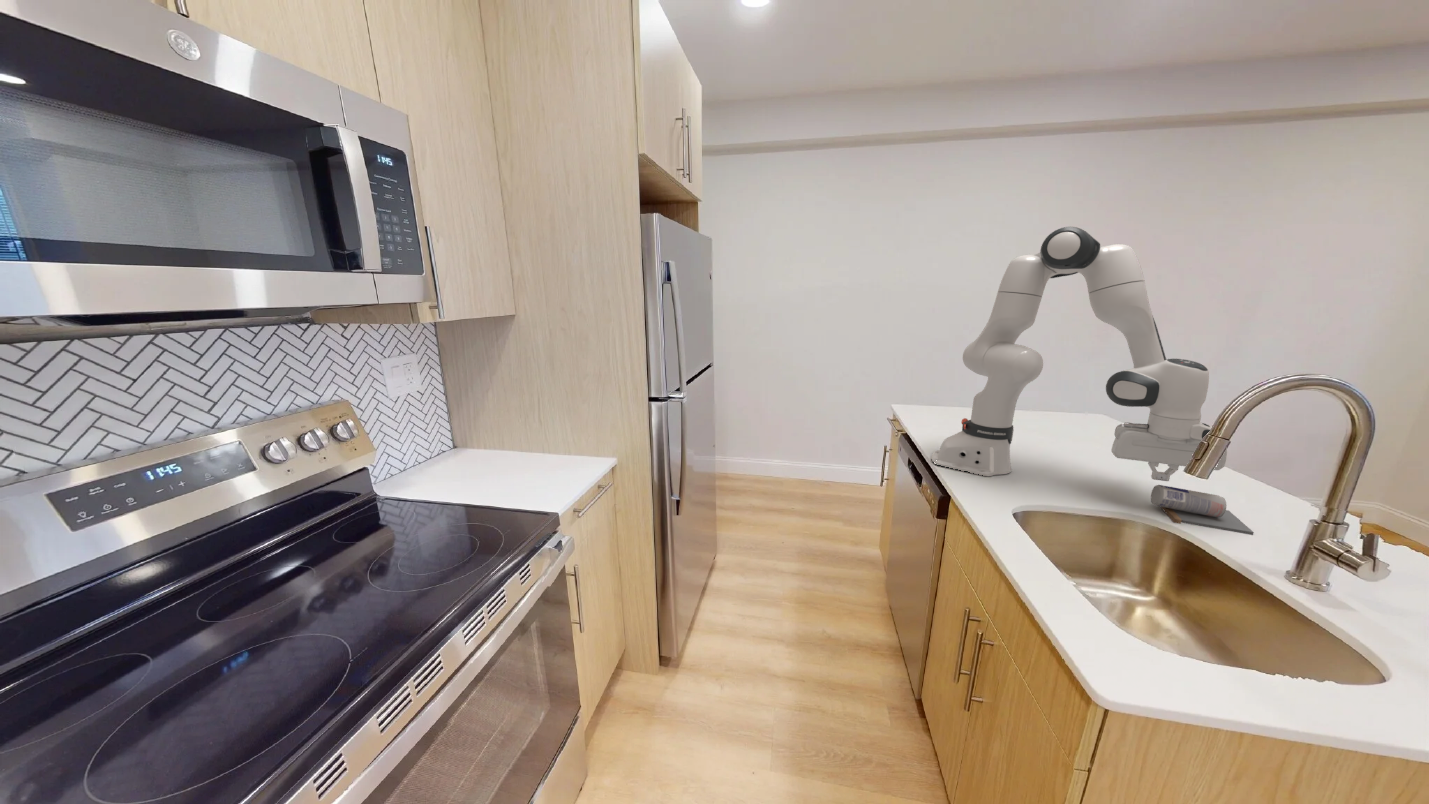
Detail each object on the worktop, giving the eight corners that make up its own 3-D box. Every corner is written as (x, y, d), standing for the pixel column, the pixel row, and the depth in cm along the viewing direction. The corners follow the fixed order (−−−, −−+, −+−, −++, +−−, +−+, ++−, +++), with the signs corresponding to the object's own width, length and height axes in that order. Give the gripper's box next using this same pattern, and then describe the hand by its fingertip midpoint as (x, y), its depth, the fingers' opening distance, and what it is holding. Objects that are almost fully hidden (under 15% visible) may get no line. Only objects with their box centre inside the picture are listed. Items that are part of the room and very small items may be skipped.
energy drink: (1148, 493, 119) (1211, 505, 114) (1152, 509, 116) (1217, 522, 110) (1157, 480, 116) (1222, 491, 111) (1162, 496, 112) (1229, 509, 107)
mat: (1181, 522, 110) (1182, 520, 110) (1163, 502, 120) (1164, 500, 120) (1253, 534, 104) (1253, 532, 104) (1228, 512, 114) (1228, 510, 114)
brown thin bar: (1174, 522, 110) (1175, 518, 110) (1154, 499, 122) (1155, 496, 121) (1180, 523, 109) (1181, 520, 109) (1160, 500, 121) (1161, 497, 121)
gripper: (1120, 424, 114) (1109, 476, 117) (1236, 435, 104) (1221, 492, 108) (1113, 418, 119) (1103, 468, 123) (1223, 428, 110) (1209, 482, 113)
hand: (1159, 479), depth 115 cm, fingers closed
